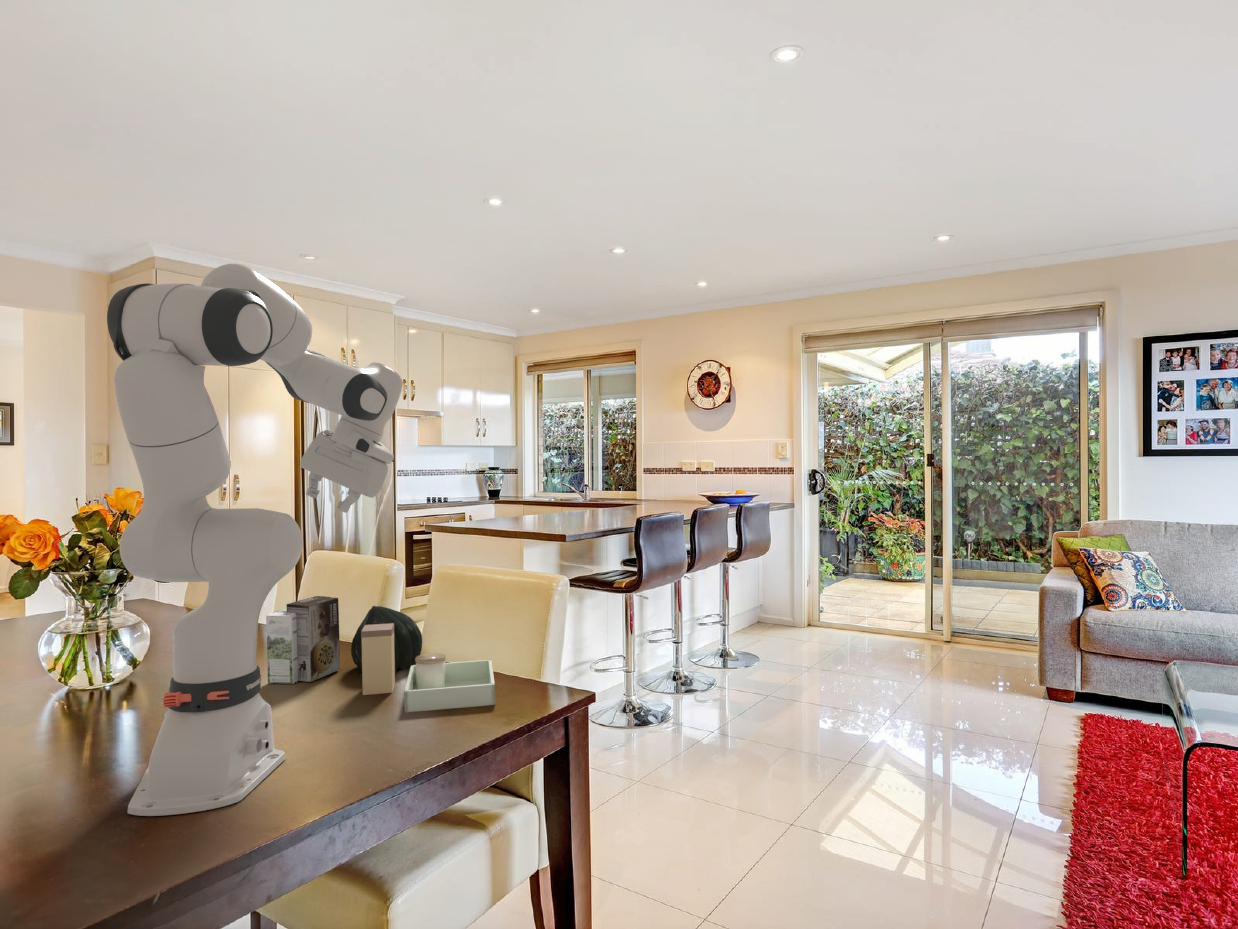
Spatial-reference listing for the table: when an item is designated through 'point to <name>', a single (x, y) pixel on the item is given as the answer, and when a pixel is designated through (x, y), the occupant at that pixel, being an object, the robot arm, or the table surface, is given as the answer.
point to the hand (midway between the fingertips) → (325, 503)
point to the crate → (454, 688)
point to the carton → (378, 659)
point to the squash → (404, 636)
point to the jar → (430, 671)
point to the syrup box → (282, 647)
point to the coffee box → (317, 636)
